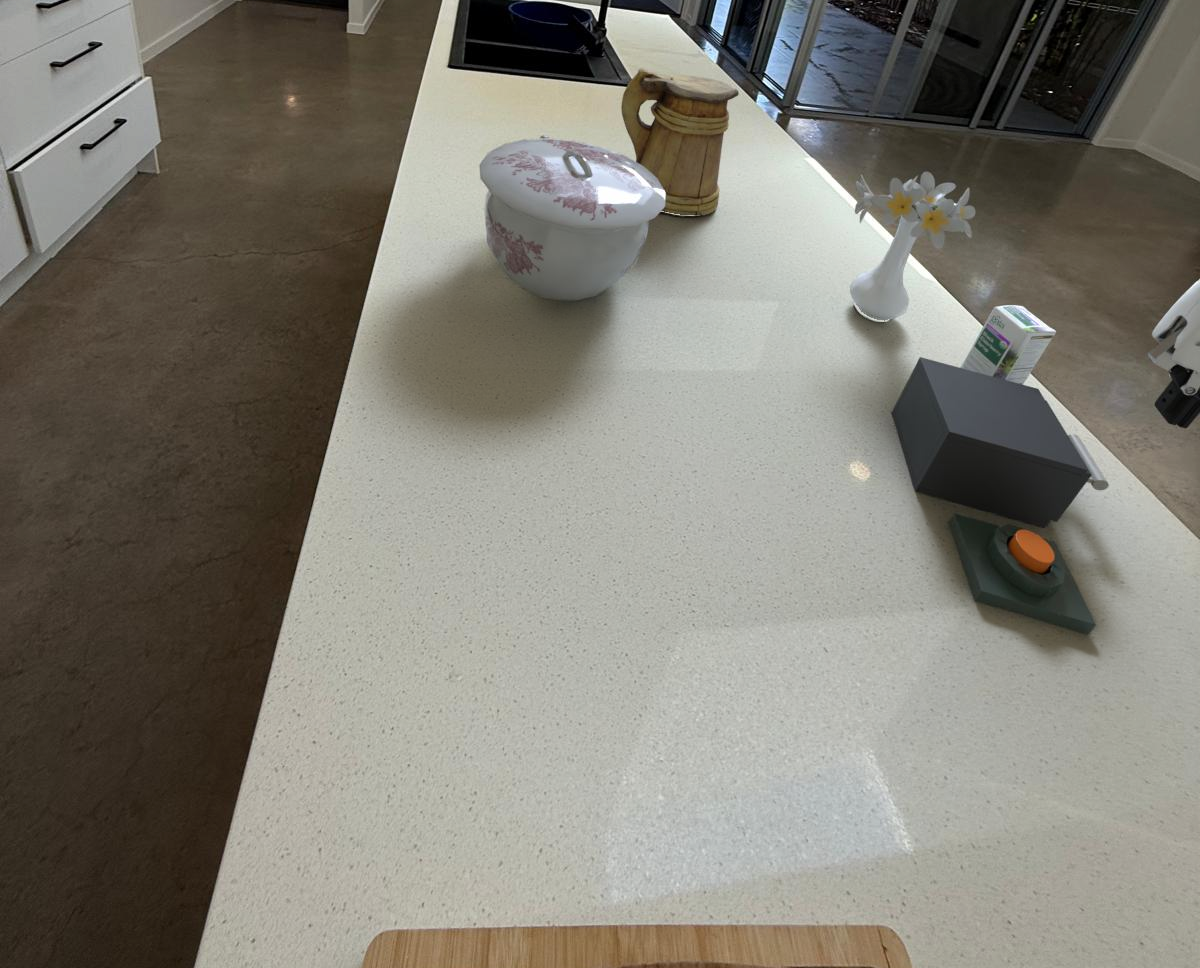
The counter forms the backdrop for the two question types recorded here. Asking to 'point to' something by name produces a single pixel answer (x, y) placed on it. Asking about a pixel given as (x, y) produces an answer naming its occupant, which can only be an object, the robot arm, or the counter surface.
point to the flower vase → (905, 238)
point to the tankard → (680, 136)
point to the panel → (1017, 577)
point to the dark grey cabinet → (985, 443)
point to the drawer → (1090, 476)
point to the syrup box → (1009, 344)
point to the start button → (1031, 551)
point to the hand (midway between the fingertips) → (1169, 416)
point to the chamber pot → (566, 215)
